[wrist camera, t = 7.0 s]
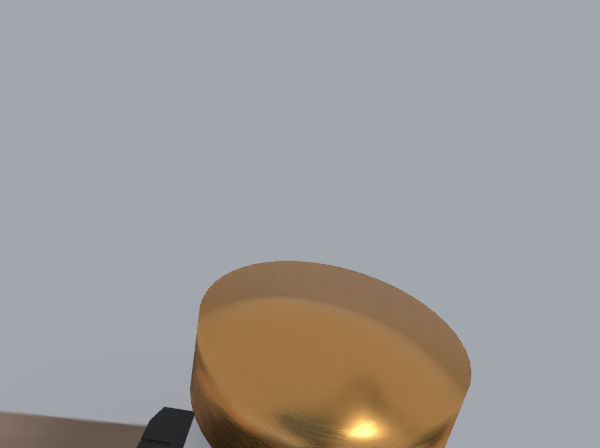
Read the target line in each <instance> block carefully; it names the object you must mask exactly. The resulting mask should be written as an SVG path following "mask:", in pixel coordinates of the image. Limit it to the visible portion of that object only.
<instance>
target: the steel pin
mask: <svg viewBox="0 0 600 448" xmlns="http://www.w3.org/2000/svg"><path fill="white" fill-rule="evenodd" d="M470 380H471V368H470V361H469V359H468V356H467V353H466V350H465V349H464V347H463V345H462V343H461V341H460V340H459V338H458V337H457V336H456V334H455V333H454V332H453V330H452V329H451V328H450V327H449V326H448V325H447V324H446V323H445V322H444V321H443V320H442V319H441V318H440V317H439V316H438V315H437V314H436V313H435V312H433V311H432V310H431V309H429V308H428V307H427V306H426V305H424V304H423V303H421V302H420V301H418V300H417V299H415V298H414V297H412V296H410V295H408V294H407V293H405V292H403V291H401V290H399V289H397V288H395V287H394V286H392V285H389V284H387V283H385V282H383V281H380V280H378V279H375V278H373V277H370V276H367V275H365V274H361V273H358V272H355V271H352V270H348V269H344V268H340V267H335V266H331V265H326V264H319V263H311V262H298V261H276V262H265V263H260V264H254V265H250V266H246V267H243V268H240V269H238V270H235V271H232V272H230V273H228V274H227V275H225V276H223V277H222V278H220V279H219V280H217V281H216V282H215V283H214V284H213V285H212V286H211V287H210V288H209V289H208V291H207V292H206V294H205V295H204V297H203V299H202V302H201V305H200V311H199V320H198V328H197V336H196V344H195V353H194V361H193V369H192V378H191V386H190V393H191V404H192V408H193V412H194V416H195V419H196V421H197V423H198V425H199V428H200V430H201V432H202V434H203V435H204V437H205V438H206V440H207V442H208V443H209V445H210V446H211V448H445V445H446V443H447V440H448V438H449V435H450V433H451V430H452V428H453V425H454V423H455V421H456V418H457V416H458V413H459V410H460V408H461V406H462V403H463V401H464V398H465V396H466V393H467V390H468V388H469V385H470Z"/></svg>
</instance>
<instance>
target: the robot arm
mask: <svg viewBox="0 0 600 448" xmlns="http://www.w3.org/2000/svg"><path fill="white" fill-rule="evenodd" d="M137 448H211V446H210V445H209V443H208V442H207V440H206V438H205V437H204V435H203V434H202V432H201V430H200V428H199V425H198V423H197V421H196V419H195V416H194V412H193V411H187V410H181V409H175V408H167V407H164V408H163V409H162V410H161V411H159V412H158V413H157V414H156V415H155V416H154V417H153V418H152V419H151V420H150V421H149V423H148V425H147V427H146V429H145V432H144V434H143V436H142V438H141V441H140V442H139V444H138V446H137Z"/></svg>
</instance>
